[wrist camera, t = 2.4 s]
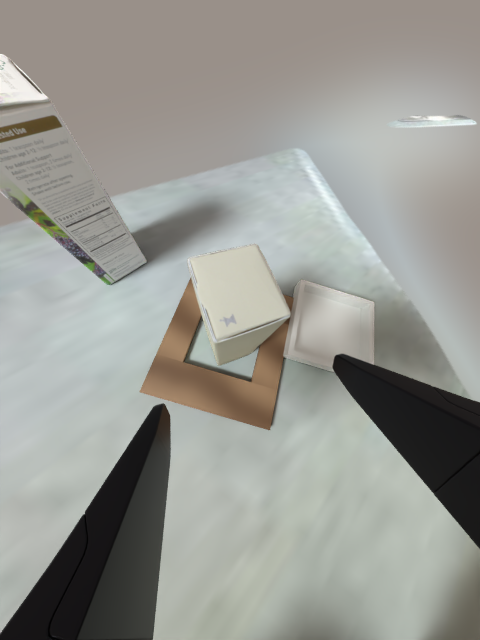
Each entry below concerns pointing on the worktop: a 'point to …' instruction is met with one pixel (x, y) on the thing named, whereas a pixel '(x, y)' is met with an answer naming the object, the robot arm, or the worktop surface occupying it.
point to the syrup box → (58, 180)
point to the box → (237, 300)
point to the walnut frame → (209, 386)
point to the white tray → (328, 326)
